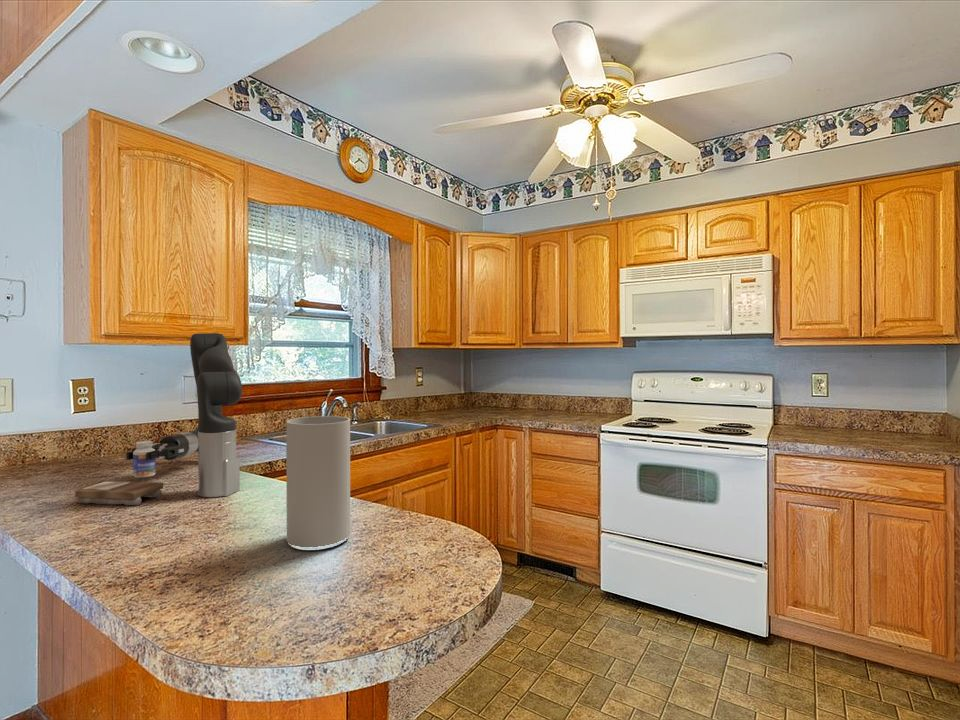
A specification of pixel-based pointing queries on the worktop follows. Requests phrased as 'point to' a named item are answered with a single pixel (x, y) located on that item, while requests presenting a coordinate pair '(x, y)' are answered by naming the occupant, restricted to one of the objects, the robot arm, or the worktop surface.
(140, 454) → the pill bottle
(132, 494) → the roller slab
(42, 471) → the worktop surface
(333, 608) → the worktop surface
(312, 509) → the cylinder vase
